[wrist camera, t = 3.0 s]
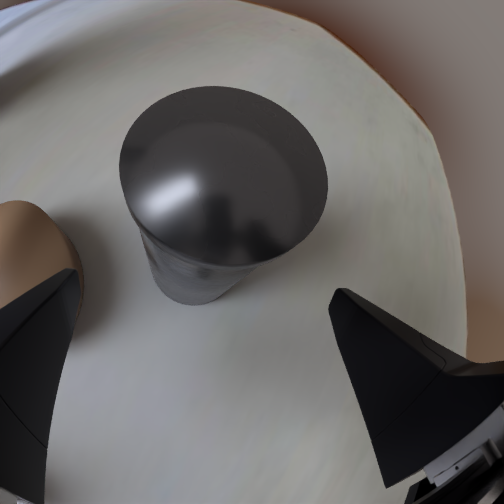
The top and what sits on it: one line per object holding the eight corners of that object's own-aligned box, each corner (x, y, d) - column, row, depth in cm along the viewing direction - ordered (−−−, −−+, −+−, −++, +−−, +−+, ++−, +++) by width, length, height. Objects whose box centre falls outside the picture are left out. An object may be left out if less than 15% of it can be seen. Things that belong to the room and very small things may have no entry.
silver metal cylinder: (253, 263, 21) (357, 173, 9) (195, 327, 19) (239, 317, 7) (192, 205, 21) (226, 66, 9) (130, 263, 18) (78, 154, 7)
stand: (110, 287, 18) (95, 276, 14) (31, 379, 14) (5, 386, 10) (40, 198, 17) (21, 174, 14) (-30, 281, 14) (-57, 270, 10)
